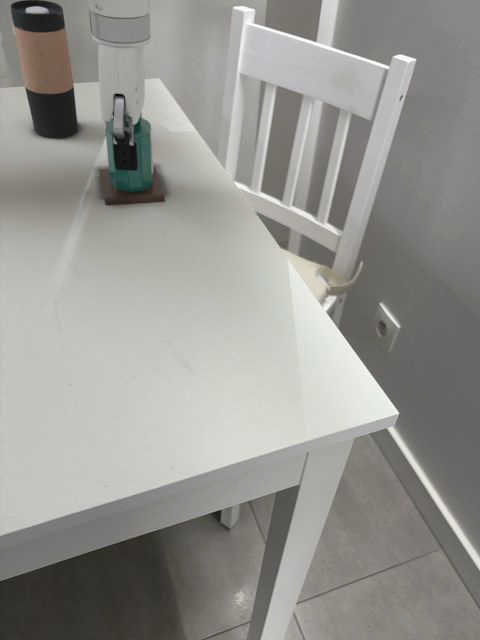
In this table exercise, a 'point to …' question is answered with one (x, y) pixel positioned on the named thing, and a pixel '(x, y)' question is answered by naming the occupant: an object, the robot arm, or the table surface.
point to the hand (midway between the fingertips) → (130, 156)
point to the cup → (144, 173)
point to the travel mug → (46, 67)
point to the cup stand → (126, 197)
